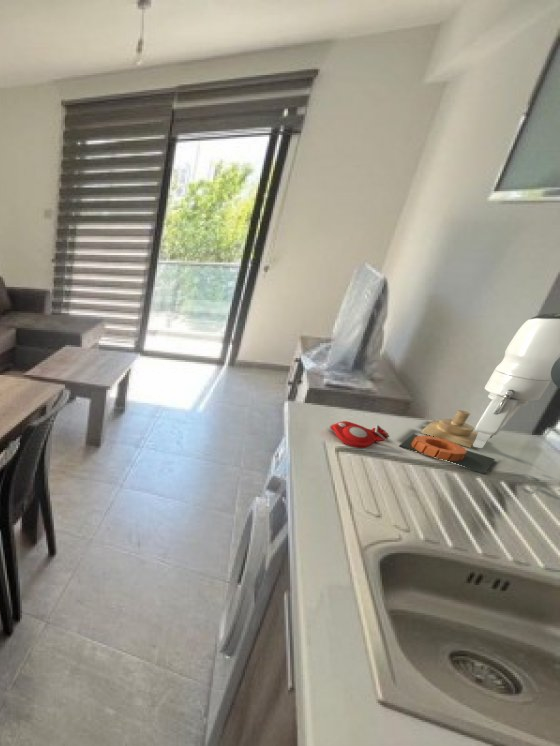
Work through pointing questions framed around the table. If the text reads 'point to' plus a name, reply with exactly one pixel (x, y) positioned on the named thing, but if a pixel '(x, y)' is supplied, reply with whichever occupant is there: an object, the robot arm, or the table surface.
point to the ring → (439, 448)
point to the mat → (469, 460)
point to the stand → (453, 429)
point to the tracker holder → (358, 434)
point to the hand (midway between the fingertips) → (482, 441)
